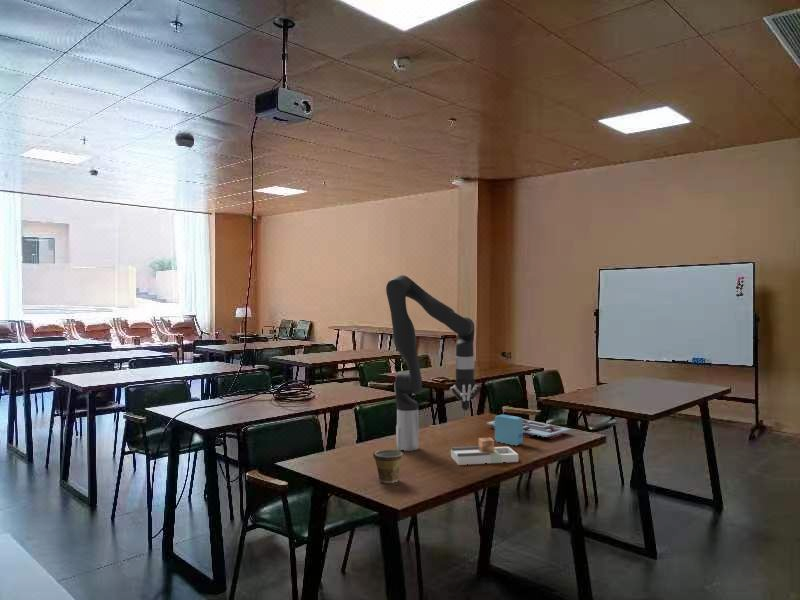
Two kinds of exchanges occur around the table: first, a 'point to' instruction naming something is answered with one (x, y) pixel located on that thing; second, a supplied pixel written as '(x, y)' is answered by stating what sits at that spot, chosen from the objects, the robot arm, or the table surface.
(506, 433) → the blue square slab
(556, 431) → the maze game
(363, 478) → the table surface
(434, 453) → the table surface
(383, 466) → the ceramic cup
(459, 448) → the tray
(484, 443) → the terracotta cube
